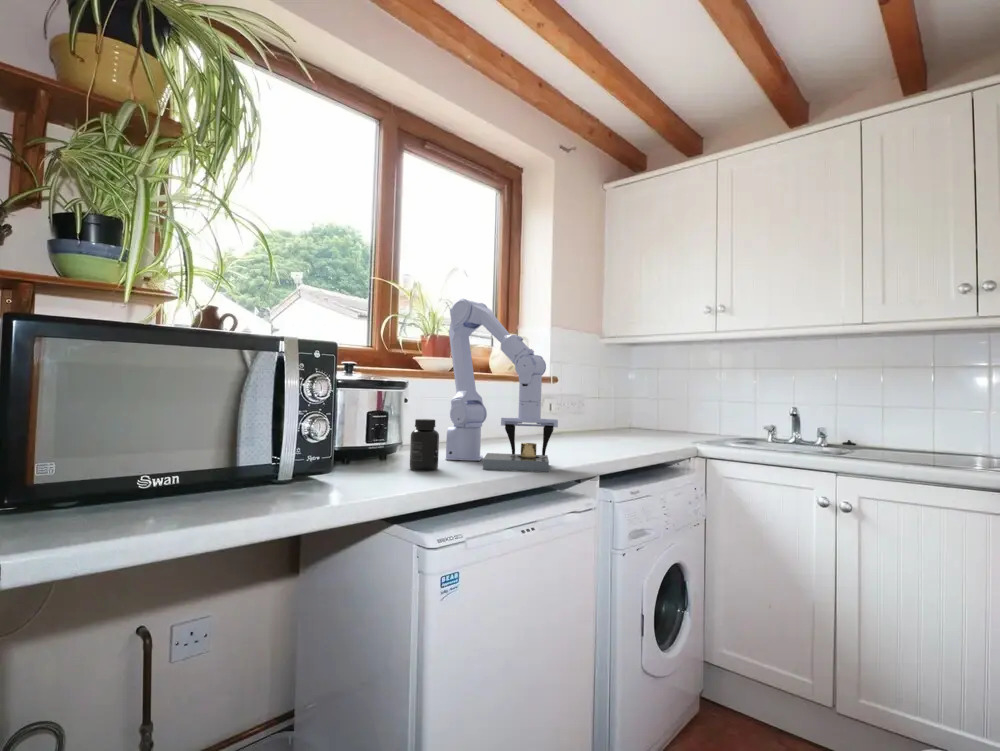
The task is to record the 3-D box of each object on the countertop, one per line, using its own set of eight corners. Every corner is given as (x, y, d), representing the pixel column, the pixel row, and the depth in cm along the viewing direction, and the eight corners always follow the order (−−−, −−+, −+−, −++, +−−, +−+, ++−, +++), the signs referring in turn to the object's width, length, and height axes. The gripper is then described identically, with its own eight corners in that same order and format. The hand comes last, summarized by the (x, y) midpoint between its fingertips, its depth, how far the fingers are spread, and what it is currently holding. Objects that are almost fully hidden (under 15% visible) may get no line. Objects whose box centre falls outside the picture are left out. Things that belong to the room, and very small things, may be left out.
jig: (482, 469, 128) (483, 459, 128) (487, 462, 140) (487, 453, 140) (548, 471, 127) (548, 461, 127) (547, 464, 139) (547, 455, 139)
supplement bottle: (442, 470, 125) (444, 420, 125) (415, 472, 121) (417, 420, 121) (431, 466, 131) (433, 418, 131) (405, 467, 127) (406, 418, 127)
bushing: (519, 467, 132) (520, 443, 133) (521, 465, 136) (522, 442, 136) (534, 468, 132) (535, 444, 132) (536, 466, 136) (537, 443, 136)
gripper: (500, 401, 131) (499, 455, 131) (559, 403, 130) (557, 457, 130) (502, 400, 138) (501, 452, 138) (557, 402, 137) (556, 454, 137)
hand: (528, 454), depth 134 cm, fingers open, 7 cm apart
